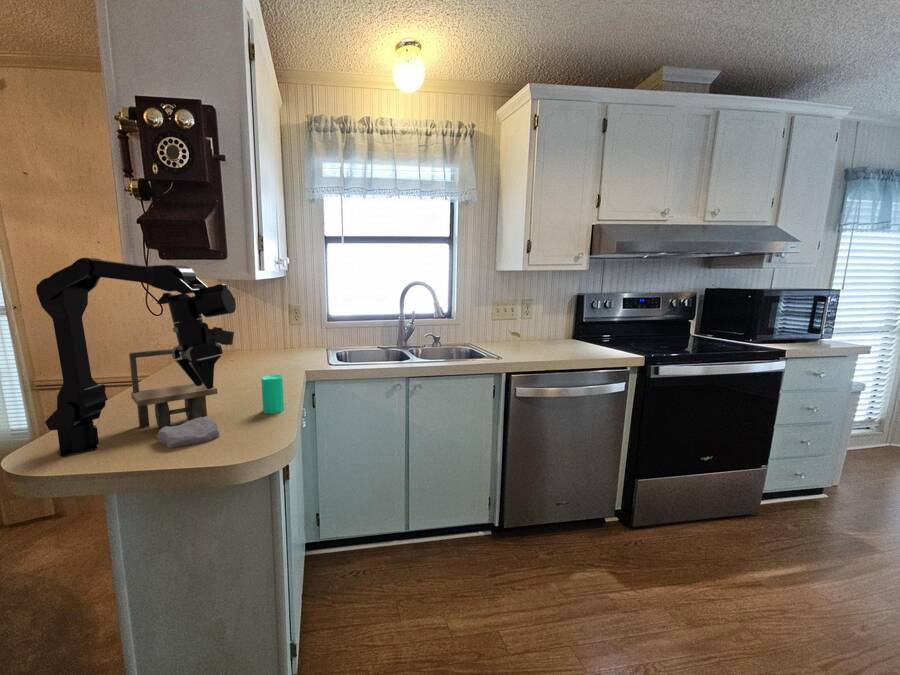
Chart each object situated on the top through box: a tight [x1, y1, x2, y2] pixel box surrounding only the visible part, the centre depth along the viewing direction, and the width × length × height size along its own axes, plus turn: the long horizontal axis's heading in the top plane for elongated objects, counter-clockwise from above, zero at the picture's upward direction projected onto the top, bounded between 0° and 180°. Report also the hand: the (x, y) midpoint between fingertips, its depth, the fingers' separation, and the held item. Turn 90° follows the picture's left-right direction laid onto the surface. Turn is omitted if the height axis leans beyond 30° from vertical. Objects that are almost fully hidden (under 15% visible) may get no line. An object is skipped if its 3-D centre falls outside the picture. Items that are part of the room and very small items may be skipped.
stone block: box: [156, 416, 221, 449], centre depth 106 cm, size 12×5×10 cm
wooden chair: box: [128, 348, 218, 430], centre depth 116 cm, size 18×11×20 cm, turn 133°
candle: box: [261, 374, 285, 414], centre depth 129 cm, size 6×6×12 cm
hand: (204, 387), depth 99 cm, fingers open, 9 cm apart
